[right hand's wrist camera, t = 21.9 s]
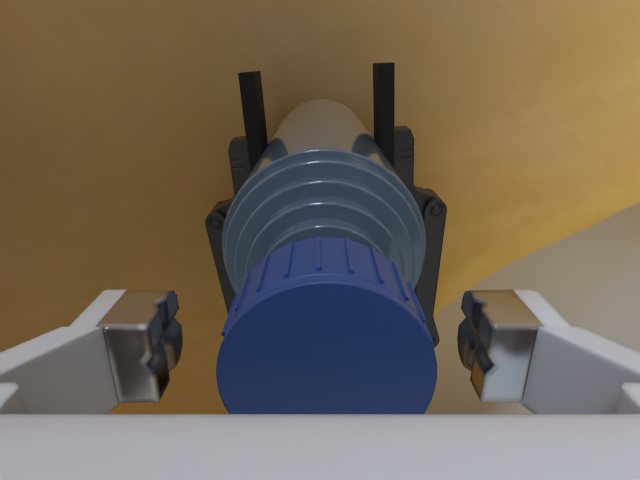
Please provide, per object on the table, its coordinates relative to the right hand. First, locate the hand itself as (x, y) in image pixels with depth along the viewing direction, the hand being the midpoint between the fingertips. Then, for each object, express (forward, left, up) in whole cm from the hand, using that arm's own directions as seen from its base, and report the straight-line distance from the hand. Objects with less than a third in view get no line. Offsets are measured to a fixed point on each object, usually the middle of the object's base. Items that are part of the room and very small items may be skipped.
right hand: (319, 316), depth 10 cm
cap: (0, 0, +2) cm, 2 cm away
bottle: (0, 0, -22) cm, 22 cm away
